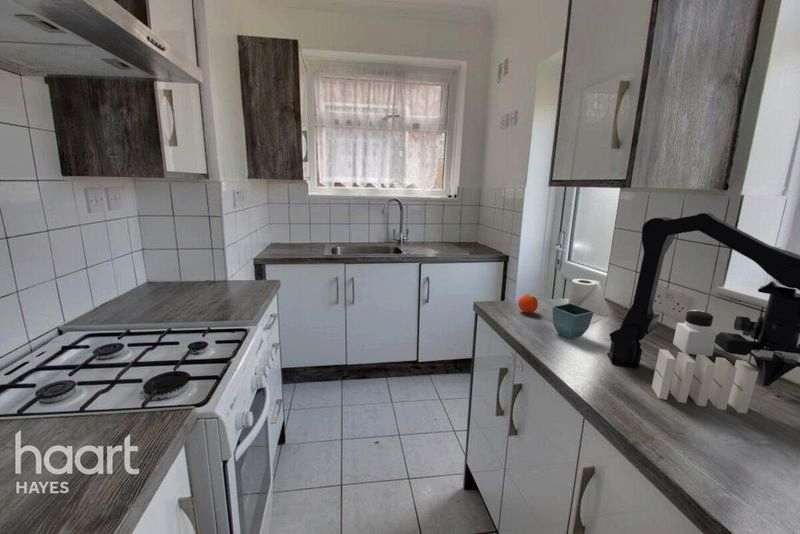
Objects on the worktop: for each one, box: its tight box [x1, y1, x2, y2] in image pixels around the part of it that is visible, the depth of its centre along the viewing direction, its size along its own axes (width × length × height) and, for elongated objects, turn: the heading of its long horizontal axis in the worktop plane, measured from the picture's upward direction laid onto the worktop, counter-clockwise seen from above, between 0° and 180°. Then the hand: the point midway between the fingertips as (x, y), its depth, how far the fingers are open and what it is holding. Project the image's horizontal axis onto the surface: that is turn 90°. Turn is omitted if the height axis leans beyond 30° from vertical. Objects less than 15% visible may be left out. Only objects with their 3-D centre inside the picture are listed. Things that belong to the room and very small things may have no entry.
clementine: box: [517, 294, 541, 314], centre depth 136 cm, size 8×7×7 cm
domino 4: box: [708, 356, 737, 411], centre depth 82 cm, size 2×5×10 cm, turn 162°
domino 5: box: [728, 359, 759, 414], centre depth 81 cm, size 2×5×10 cm, turn 162°
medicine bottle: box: [672, 309, 718, 357], centre depth 108 cm, size 7×7×12 cm
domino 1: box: [651, 348, 676, 401], centre depth 85 cm, size 2×5×10 cm, turn 162°
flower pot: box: [552, 302, 595, 340], centre depth 117 cm, size 9×9×9 cm
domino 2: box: [669, 351, 696, 404], centre depth 84 cm, size 2×5×10 cm, turn 162°
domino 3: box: [688, 354, 716, 407], centre depth 83 cm, size 2×5×10 cm, turn 162°
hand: (764, 385), depth 79 cm, fingers closed
